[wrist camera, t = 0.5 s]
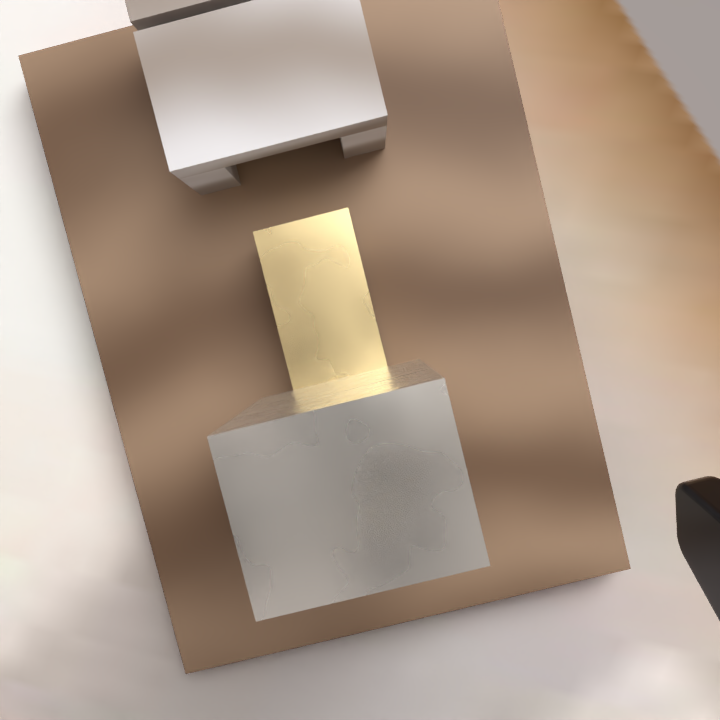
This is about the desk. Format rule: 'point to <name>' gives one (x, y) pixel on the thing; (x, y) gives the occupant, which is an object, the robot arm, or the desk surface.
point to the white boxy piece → (341, 444)
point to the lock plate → (379, 260)
